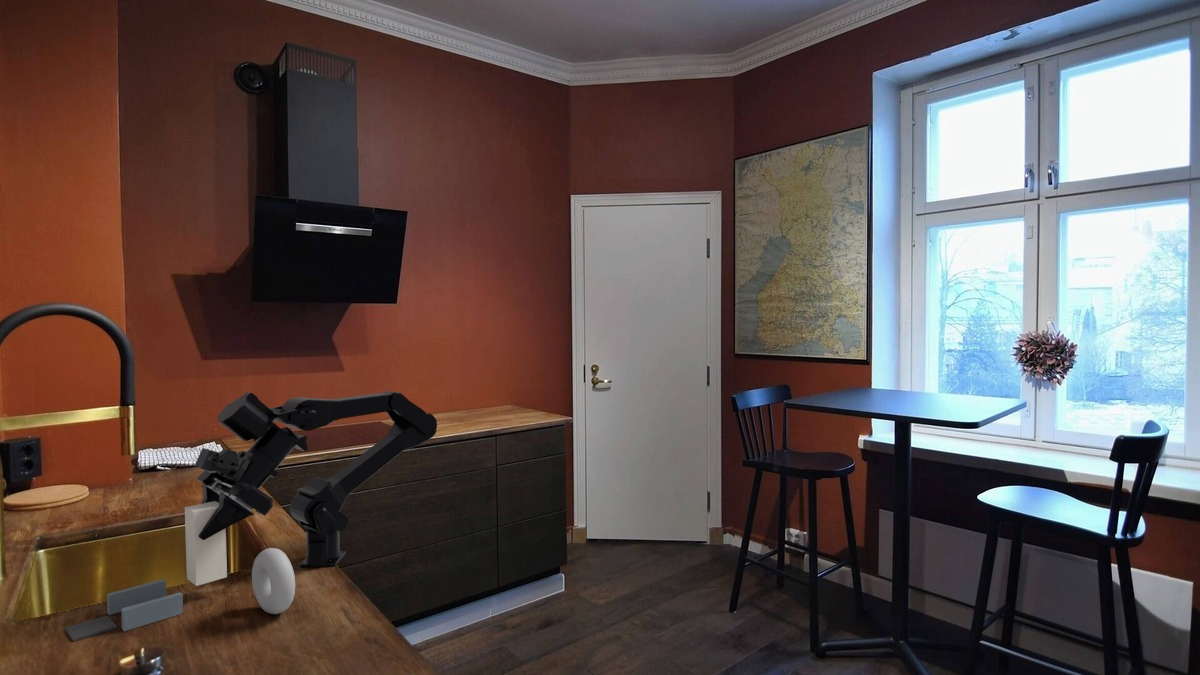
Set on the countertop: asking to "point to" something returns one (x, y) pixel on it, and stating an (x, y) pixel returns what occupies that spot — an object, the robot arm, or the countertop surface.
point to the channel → (144, 604)
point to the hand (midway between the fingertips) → (195, 535)
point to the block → (204, 546)
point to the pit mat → (90, 628)
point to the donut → (273, 580)
